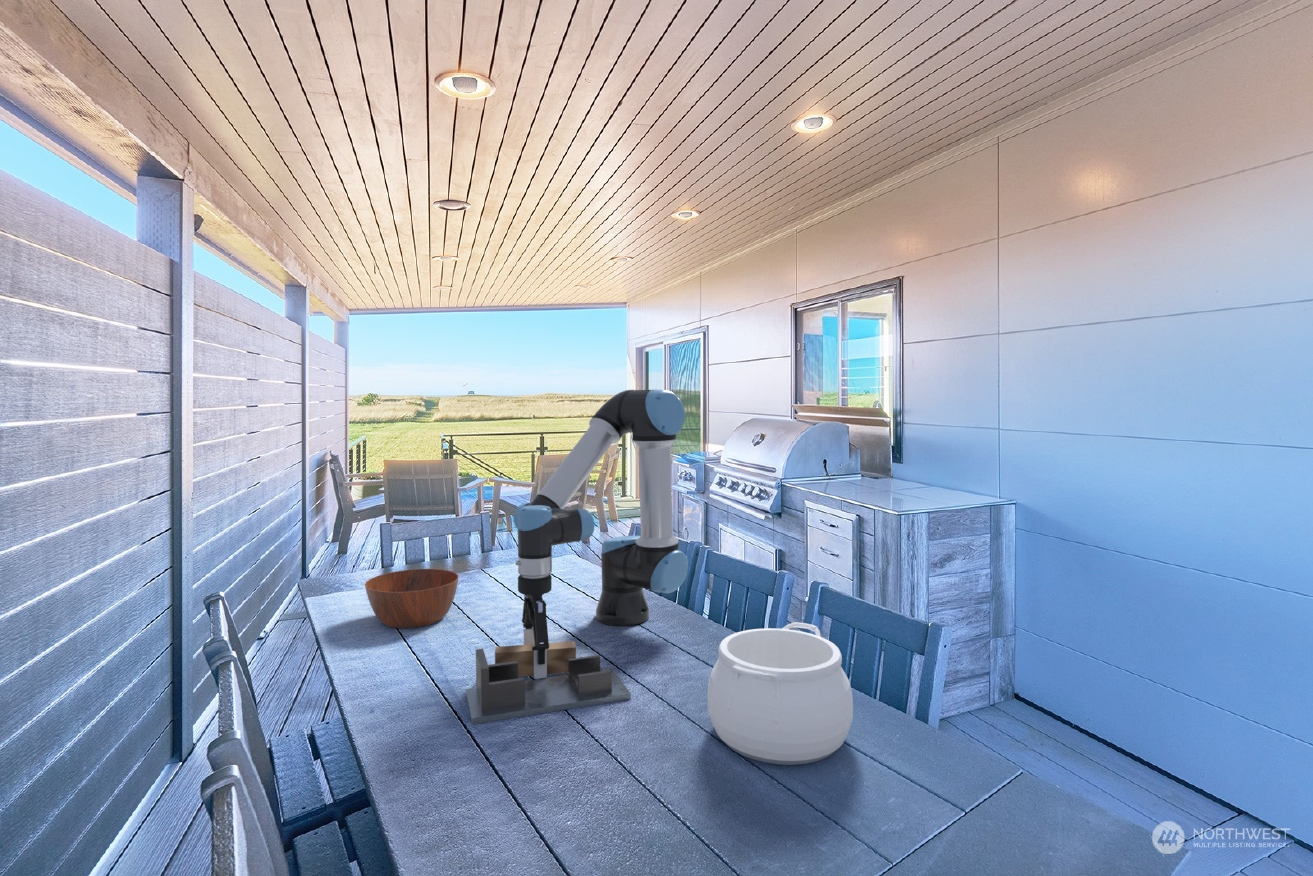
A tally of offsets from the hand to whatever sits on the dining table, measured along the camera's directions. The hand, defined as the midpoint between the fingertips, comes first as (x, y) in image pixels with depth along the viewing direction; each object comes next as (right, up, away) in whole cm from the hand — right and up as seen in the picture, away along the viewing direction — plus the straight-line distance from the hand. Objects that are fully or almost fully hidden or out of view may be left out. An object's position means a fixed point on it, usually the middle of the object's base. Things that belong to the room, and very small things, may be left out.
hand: (534, 666), depth 155 cm
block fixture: (+5, -2, -13) cm, 14 cm away
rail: (0, -2, 0) cm, 2 cm away
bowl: (-41, 0, +37) cm, 56 cm away
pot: (+50, -3, -29) cm, 58 cm away
